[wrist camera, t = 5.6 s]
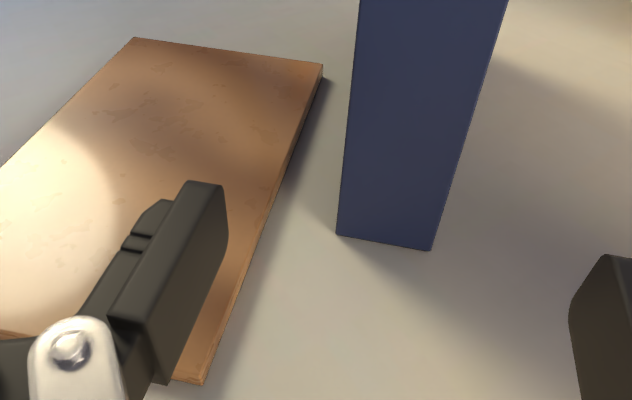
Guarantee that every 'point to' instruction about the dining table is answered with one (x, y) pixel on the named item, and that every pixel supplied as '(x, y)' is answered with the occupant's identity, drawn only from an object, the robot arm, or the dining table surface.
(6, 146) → the dining table surface
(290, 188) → the dining table surface
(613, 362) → the robot arm
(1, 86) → the dining table surface
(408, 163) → the book
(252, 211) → the cork mat
